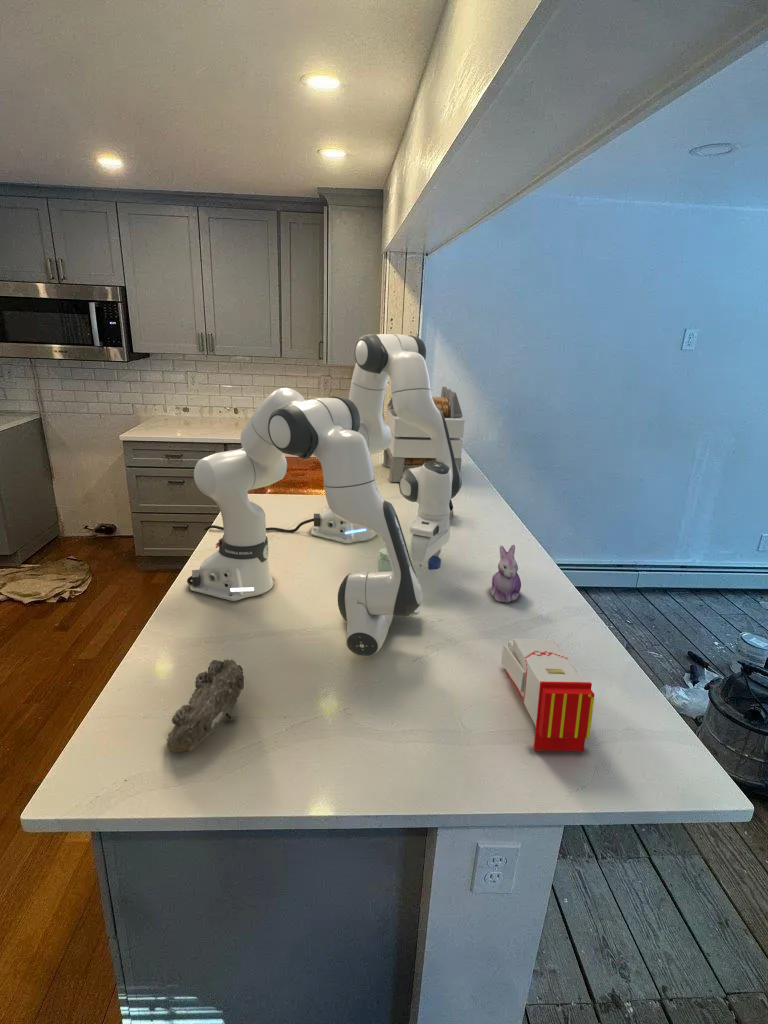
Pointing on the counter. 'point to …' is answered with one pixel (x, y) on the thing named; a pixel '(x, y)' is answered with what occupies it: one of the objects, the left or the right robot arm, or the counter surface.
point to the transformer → (422, 437)
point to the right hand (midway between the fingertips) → (430, 566)
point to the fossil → (206, 705)
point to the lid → (434, 563)
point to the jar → (384, 562)
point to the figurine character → (451, 509)
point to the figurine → (506, 577)
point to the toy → (550, 693)
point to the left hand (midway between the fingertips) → (386, 585)
